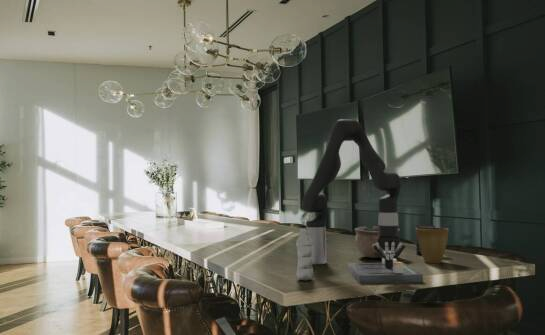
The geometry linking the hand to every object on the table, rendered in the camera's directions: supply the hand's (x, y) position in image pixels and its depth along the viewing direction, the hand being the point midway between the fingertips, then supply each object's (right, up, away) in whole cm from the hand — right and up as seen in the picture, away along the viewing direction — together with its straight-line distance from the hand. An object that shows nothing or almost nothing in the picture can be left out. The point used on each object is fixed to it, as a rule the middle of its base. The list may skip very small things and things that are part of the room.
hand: (389, 269), depth 185 cm
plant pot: (+31, -6, +42) cm, 52 cm away
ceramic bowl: (+8, -7, +57) cm, 58 cm away
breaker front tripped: (+4, -1, 0) cm, 4 cm away
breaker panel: (0, -5, +10) cm, 11 cm away
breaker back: (+4, -2, +20) cm, 21 cm away
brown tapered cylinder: (+35, -7, +65) cm, 74 cm away
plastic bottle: (-32, -5, +3) cm, 33 cm away
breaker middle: (+4, -2, +10) cm, 11 cm away
